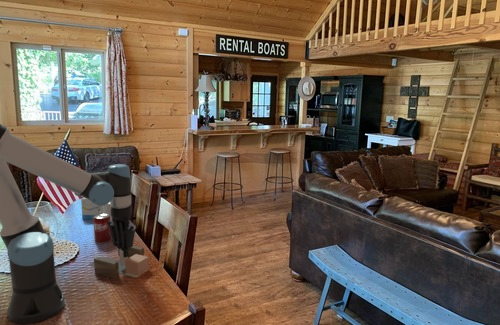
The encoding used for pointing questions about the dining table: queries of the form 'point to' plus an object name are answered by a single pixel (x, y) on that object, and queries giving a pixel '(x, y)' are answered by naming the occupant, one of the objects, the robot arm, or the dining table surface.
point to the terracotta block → (136, 264)
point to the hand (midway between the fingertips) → (124, 264)
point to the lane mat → (121, 268)
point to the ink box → (90, 209)
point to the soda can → (101, 228)
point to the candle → (107, 210)
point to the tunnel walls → (113, 263)
